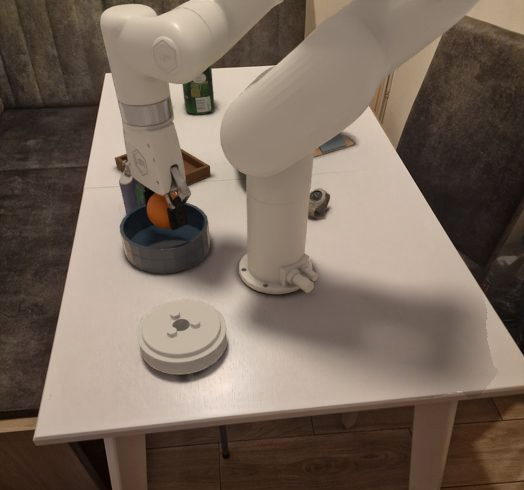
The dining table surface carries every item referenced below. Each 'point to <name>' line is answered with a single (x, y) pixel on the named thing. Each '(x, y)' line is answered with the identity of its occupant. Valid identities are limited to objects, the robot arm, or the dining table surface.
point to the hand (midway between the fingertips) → (167, 217)
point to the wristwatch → (318, 202)
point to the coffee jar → (199, 93)
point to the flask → (130, 190)
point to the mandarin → (159, 210)
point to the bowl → (165, 241)
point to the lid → (182, 336)
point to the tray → (192, 166)
